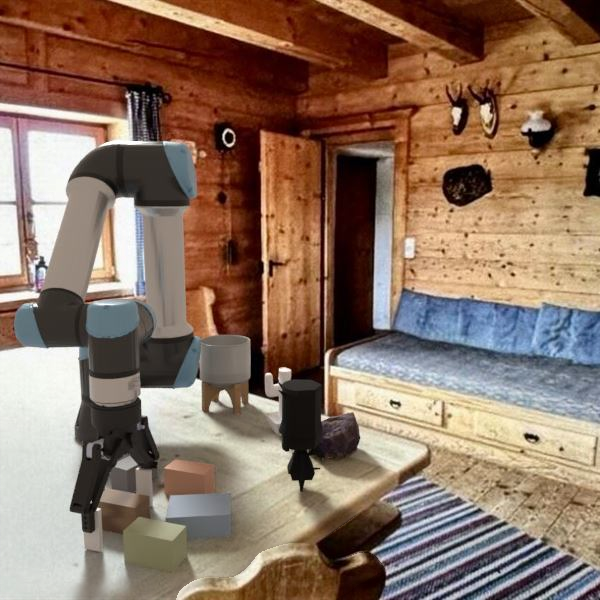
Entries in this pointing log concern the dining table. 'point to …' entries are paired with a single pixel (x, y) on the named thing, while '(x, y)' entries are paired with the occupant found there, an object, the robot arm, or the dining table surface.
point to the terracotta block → (188, 478)
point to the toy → (301, 426)
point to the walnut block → (122, 509)
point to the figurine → (272, 391)
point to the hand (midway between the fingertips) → (121, 525)
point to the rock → (339, 436)
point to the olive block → (155, 544)
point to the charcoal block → (127, 475)
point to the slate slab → (201, 514)
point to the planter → (225, 369)
